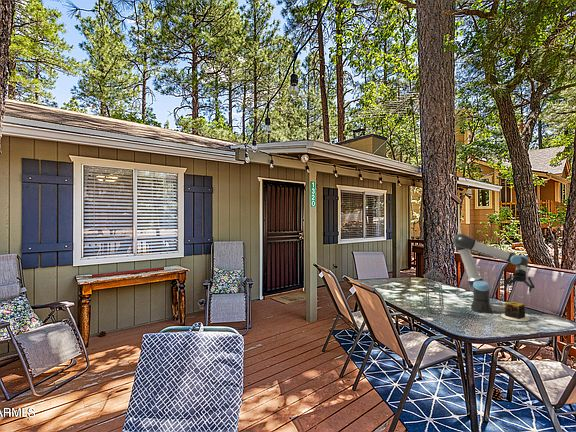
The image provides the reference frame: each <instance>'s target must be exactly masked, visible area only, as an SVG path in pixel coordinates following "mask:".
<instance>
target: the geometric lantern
mask: <svg viewBox="0 0 576 432" xmlns="http://www.w3.org/2000/svg"><path fill="white" fill-rule="evenodd" d="M423 277H424V281H425V284H426V289H425V309H428V311H429V313H430V314H435V315H440V314H442V311H443V310H444V309H445V307H444V297H443V282H444V281H445V276H444V275H443V274H442V273H440V271H438V270H437V269H434V268H433V269H431V270H428V271H427V272H426V273H424V274H423ZM426 279H427V280H429V283H427V280H426ZM439 280H441V282H440V284H439V282H438V281H439ZM432 282H436V283H437V284H435V283H434V284H433V283H432ZM430 285H431V286H430ZM436 286H438V291H439V292H438V294H439V295H438V299H439V304H436V306H438V307H430V306H432V304H430V288H436ZM434 310H438V312H439V313H438V312H437V313H436V312H434Z"/></svg>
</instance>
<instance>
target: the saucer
mask: <svg viewBox="0 0 576 432" xmlns="http://www.w3.org/2000/svg"><path fill="white" fill-rule="evenodd" d="M500 317H501V318H503V319H504V320H508V321H512V322H513V321H514V322H529V321H531V320H530V317H528V316H526V315H525V317H524V318H521V319H516V318H512V317H508V316H505V312H504V313H501V314H500Z"/></svg>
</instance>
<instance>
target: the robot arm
mask: <svg viewBox="0 0 576 432" xmlns="http://www.w3.org/2000/svg"><path fill="white" fill-rule="evenodd" d="M452 243H453V244H454V247H455V250H456V251H457V252H458V253H459V255H460V258H461V260H462V264H463V267H464V269H465V271H466V275H467V277H468V278H467V282H468V283H467V284H468V287H469V290H470V291H471V292H472V295H473V296H472V299H473V300H472V302H471V305H470V310H471V311H473V312H477V313H482V314H485V313H486V314H490V313H492V312H493V307H492V305H491V302H490V299H491V295H490V292H491V291H490V288H491V287H490V283H488V282H487V281H485V280H483V279H484V278H483V277H482V276H481V275H480V274H479V271H478V268H477V265H476V263H475V261H474V257H473V254H472V251H476V252H479V253H482V254H484V255H487V256H490V257H493V258H496V259H499V260H501V261H503V262H507V263H508V264H509V263H510V264H511V265H515V272H514V275H512V274H510V275H509V276H508V277H507V278H506V280H504V282H503V285H505V289H506V293H507V294H509V290H510V289H509V288H510V285H512V284H514V283H516V282H520V283H522V282H523V283H524V284H525V285H526V286H527V293H526V294H527V296H530V293H531V292H532V289H535V285H534V283H533V281H532V279H531V276H528V277H527V272H528V265H529V257H528V256H526V255H524V254H523V255H522V254H520V255H518V254H514V253H511V252H509V251H506V250H502V249H500V248H498V247H494V246H492V245H488V244H486V243H482V242H480V241H477V239H475V238H473V237H470V236H469V235H467V234H464V233H458V234H455V235H454V236H453V238H452Z"/></svg>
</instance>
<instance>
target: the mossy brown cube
mask: <svg viewBox="0 0 576 432" xmlns="http://www.w3.org/2000/svg"><path fill="white" fill-rule="evenodd" d="M504 313H505V316H508V317H512V318H516V319H521V318H524V317H525V316H526V304H525V303H521V302H517V301H508V302H504Z"/></svg>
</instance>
